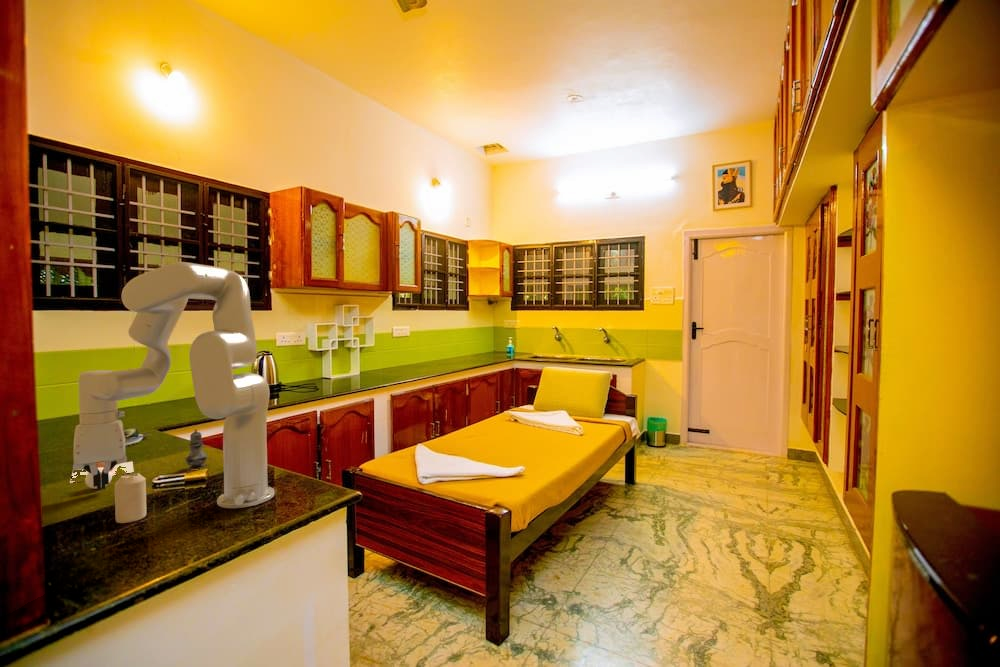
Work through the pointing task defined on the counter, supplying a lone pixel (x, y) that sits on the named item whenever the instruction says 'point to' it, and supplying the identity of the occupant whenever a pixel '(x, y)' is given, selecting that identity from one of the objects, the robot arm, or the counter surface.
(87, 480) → the cue ball
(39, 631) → the counter surface
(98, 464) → the object ball
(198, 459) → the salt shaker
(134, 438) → the salad plate
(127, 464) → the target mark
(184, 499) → the counter surface
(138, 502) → the candle
